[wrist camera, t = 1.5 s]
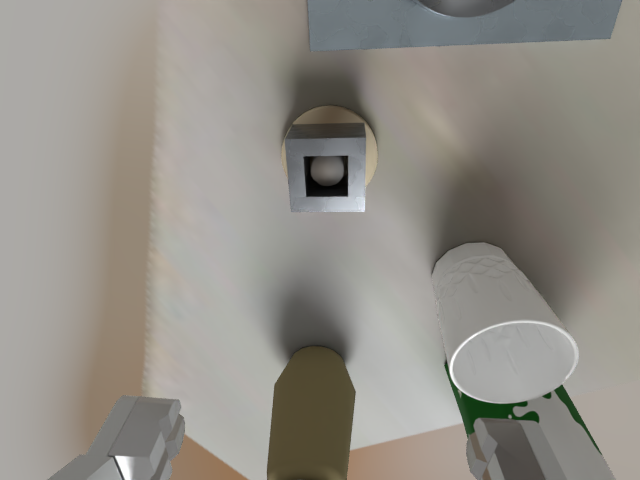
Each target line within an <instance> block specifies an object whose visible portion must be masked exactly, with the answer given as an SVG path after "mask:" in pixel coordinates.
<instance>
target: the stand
mask: <svg viewBox="0 0 640 480" xmlns="http://www.w3.org/2000/svg"><path fill="white" fill-rule="evenodd" d="M325 123H365V132H366V172H365V187H366V186H367V185H368V183H369V182H370V181H371V179H372V177H373V175H374V173H375V170H376V167H377V161H378V150H377V145H376V140H375V137H374V134H373V132H372V130H371V128H370V127H369V125H368V124H367V123H366V121H365V120H364V119H363V118H362V117H360V116H359V115H358V114H356V113H355V112H353V111H351V110H349V109H347V108H344V107H340V106H333V105H326V106H320V107H315V108H313V109H310V110H308V111H306V112H305V113H303V114H302V115H301V116H299V117H298V118H297V119H296V120H295V121H294V122H293V124H325ZM291 126H292V125H291ZM291 126H290V128H291ZM290 128H289V130H290ZM289 130H288V132H289ZM288 132H287V133H288ZM286 135H287V134H286ZM285 137H286V136H285ZM284 139H285V138H284ZM281 159H282V165H283V168H284V172H285V174H286V176H287V178H288V173H287V162H286V151H285V140H284V141H283V145H282V151H281ZM310 168H311V177H313V179H314V180H315V181H316V182H317V183H319V184H320V185H323V186H332V185H335V184H337V183H338V182H339V181H340V180H341V179H342V177H343V176H348V156H310Z"/></svg>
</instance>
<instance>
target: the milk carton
mask: <svg viewBox="0 0 640 480" xmlns="http://www.w3.org/2000/svg"><path fill="white" fill-rule="evenodd" d="M444 366H445V369H446V372H447V375H448V378H449V381H450V384H451V387H452V389H453V392H454V395H455V398H456V401H457V404H458V407H459V410H460V413H461V416H462V419H463V423H464V426H465V430H466V434H467V437H468V438H469V435H471V434H472V433H474V432H475V429H474V426H473V425H474V423H475V421H476V419H478V418H495V419H514V420H526V421H535V422H537V423H538V424H539V425H540V427H541V429H542V431H543V433H544V435H545V437H546V438H547V440H548V442H549V444H550V446H551V448H552V450H553V452H554V454H555V456H556V458H557V460H558V462H559V464H560V466H561V468H562V470H563V472H564V474H565V476H566V478H567V480H616V479H615V477H614V475H613V473H612V471H611V470H610V468H609V467H608V464H607V463H606V461H605V459H604V457H603V456H602V454H601V452H600V451H599V448H598V447H597V445H596V443H595V441H594V440H593V438H592V436H591V434H590V432H589V431H588V429H587V427H586V425H585V424H584V422H583V420H582V418H581V416H580V415H579V413H578V411H577V409H576V408H575V406H574V404H573V402H572V401H571V399H570V397H569V395H568V394H567V392H566V390H565V389H564V387H563V385H560V386H559V387H558V388H556V389H555V390H553V391H551V392H549V393H547V394H545V395H543V396H541V397H538V398H535V399H532V400H528V401H524V402H518V403H506V404H500V403H490V402H484V401H480V400H477V399H474V398H472V397H470V396H468V395H466V394H465V393H463V392H462V391H460V390H459V389H458V388H457V387H456V385H455V384H454V383H453V381H452V379H451V376H450V372H449V367H448V363H447V364H445V365H444Z"/></svg>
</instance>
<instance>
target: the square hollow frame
mask: <svg viewBox="0 0 640 480" xmlns="http://www.w3.org/2000/svg"><path fill="white" fill-rule="evenodd" d="M284 140H285V151H286V162H287V173H288V184H289V194H290V205H291V212H364V211H365V172H366V132H365V123H325V124H292V126H291V128H290V130H289V132H288V133H287V135H286V137H285V139H284ZM310 156H348V176H343V177H342V179H341V180H340V181H339V182H338V183H337V184H335V185H332V186H323V185H320V184H319V183H317V182H316V181H315V180H314V179H313V177H311V168H310Z"/></svg>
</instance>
